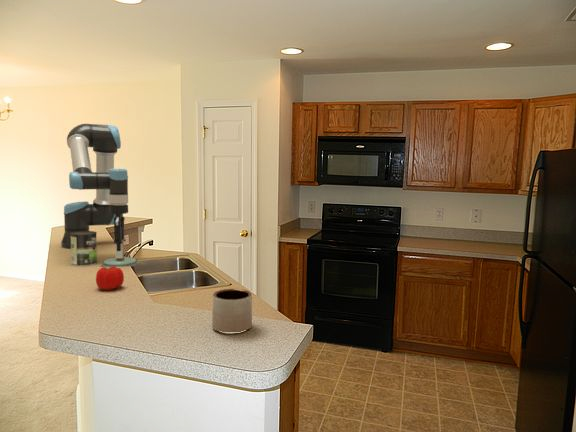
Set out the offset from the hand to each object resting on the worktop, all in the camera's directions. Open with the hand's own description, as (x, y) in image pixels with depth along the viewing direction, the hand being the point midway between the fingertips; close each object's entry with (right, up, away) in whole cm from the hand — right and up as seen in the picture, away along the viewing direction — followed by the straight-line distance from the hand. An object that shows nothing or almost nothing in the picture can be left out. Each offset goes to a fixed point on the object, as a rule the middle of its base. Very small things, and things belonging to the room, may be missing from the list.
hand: (119, 256), depth 185 cm
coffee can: (-15, -3, -2) cm, 15 cm away
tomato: (+11, -8, -36) cm, 38 cm away
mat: (0, -3, 0) cm, 3 cm away
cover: (0, -3, 0) cm, 3 cm away
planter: (+59, -13, -69) cm, 92 cm away
